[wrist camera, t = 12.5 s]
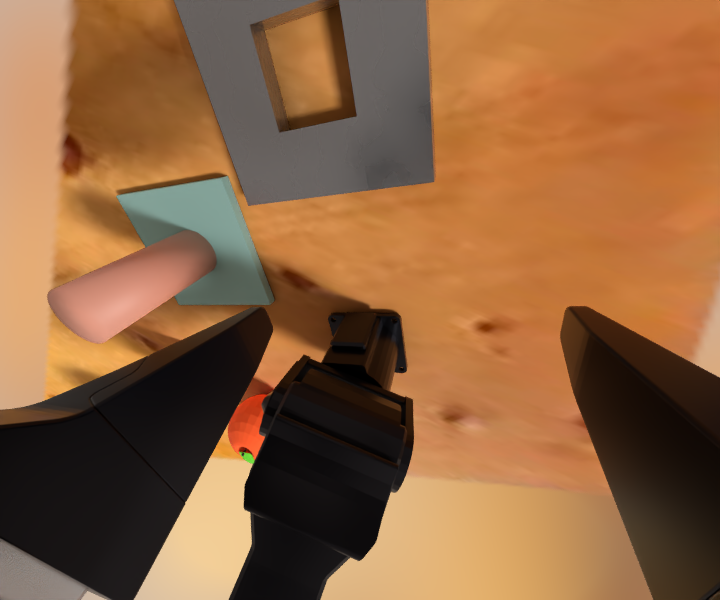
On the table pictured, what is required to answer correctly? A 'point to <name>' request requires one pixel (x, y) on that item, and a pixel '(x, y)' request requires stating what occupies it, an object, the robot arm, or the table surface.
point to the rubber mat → (216, 224)
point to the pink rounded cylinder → (131, 286)
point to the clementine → (247, 428)
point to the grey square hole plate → (328, 140)
